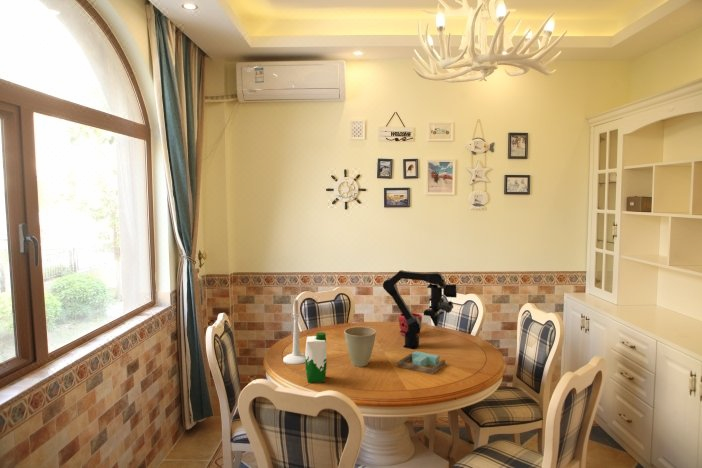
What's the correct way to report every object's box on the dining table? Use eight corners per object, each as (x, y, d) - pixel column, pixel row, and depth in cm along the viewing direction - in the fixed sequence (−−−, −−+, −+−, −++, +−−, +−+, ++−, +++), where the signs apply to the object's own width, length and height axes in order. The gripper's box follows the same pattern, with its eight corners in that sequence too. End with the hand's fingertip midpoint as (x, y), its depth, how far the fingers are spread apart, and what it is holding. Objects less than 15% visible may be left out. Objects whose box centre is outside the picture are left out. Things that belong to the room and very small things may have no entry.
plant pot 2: (423, 338, 253) (423, 317, 252) (399, 338, 253) (399, 317, 252) (419, 331, 266) (420, 311, 265) (397, 331, 266) (397, 311, 265)
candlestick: (298, 353, 227) (298, 295, 225) (314, 359, 218) (314, 298, 216) (277, 359, 218) (277, 298, 216) (293, 366, 209) (293, 303, 207)
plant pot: (339, 361, 216) (339, 328, 215) (367, 357, 222) (367, 325, 221) (351, 371, 203) (351, 337, 202) (381, 367, 208) (381, 333, 207)
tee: (404, 366, 209) (404, 358, 209) (415, 359, 219) (415, 351, 219) (428, 371, 203) (428, 363, 203) (438, 363, 213) (438, 355, 213)
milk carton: (326, 383, 190) (326, 336, 189) (305, 383, 189) (305, 337, 188) (326, 375, 199) (326, 330, 197) (305, 375, 198) (305, 331, 197)
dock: (396, 366, 209) (397, 362, 209) (410, 357, 221) (410, 353, 221) (433, 374, 200) (433, 370, 199) (445, 364, 212) (445, 360, 211)
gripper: (444, 301, 221) (443, 332, 222) (457, 295, 236) (457, 324, 238) (423, 299, 227) (423, 329, 228) (437, 292, 243) (437, 321, 244)
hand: (436, 326), depth 234 cm, fingers closed
